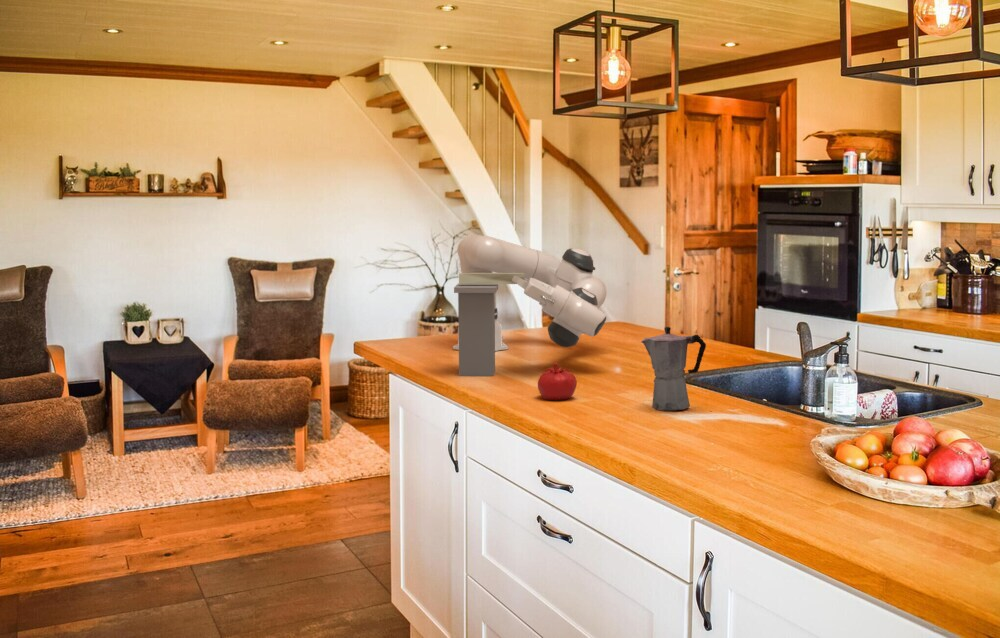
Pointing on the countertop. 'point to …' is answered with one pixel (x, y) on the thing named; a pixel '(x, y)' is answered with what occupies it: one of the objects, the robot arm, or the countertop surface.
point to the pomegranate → (557, 384)
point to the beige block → (488, 278)
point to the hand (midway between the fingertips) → (513, 276)
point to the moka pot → (671, 368)
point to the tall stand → (476, 328)
